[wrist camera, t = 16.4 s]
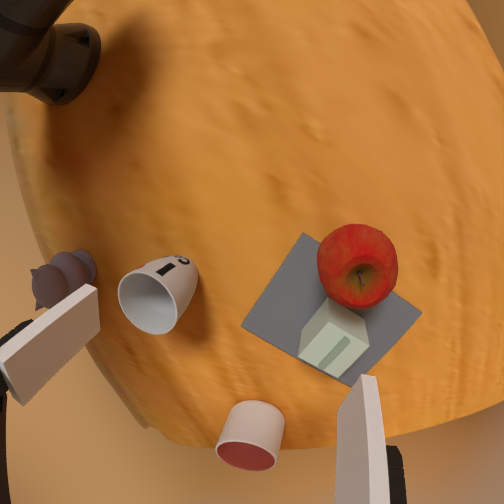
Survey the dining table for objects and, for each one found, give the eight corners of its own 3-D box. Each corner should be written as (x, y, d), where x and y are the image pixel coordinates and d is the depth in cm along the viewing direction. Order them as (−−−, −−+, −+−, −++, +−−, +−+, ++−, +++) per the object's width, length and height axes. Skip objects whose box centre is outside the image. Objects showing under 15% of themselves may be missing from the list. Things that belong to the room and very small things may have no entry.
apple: (302, 244, 36) (295, 279, 26) (353, 197, 33) (368, 214, 23) (347, 291, 36) (354, 339, 26) (397, 249, 33) (424, 284, 23)
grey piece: (241, 324, 41) (230, 346, 36) (302, 232, 35) (300, 245, 30) (350, 385, 41) (352, 409, 36) (421, 311, 35) (432, 332, 30)
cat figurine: (99, 296, 46) (54, 328, 35) (69, 279, 47) (25, 305, 36) (101, 252, 43) (49, 280, 32) (70, 237, 44) (19, 259, 33)
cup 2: (221, 402, 48) (203, 443, 39) (269, 391, 44) (256, 436, 35) (249, 433, 49) (236, 473, 40) (295, 425, 46) (287, 468, 37)
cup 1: (203, 243, 39) (168, 270, 29) (213, 298, 41) (184, 337, 32) (152, 246, 41) (110, 271, 31) (164, 297, 43) (128, 331, 34)
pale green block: (301, 329, 38) (297, 359, 32) (327, 296, 36) (328, 324, 30) (337, 349, 38) (337, 381, 32) (364, 319, 36) (370, 348, 30)
